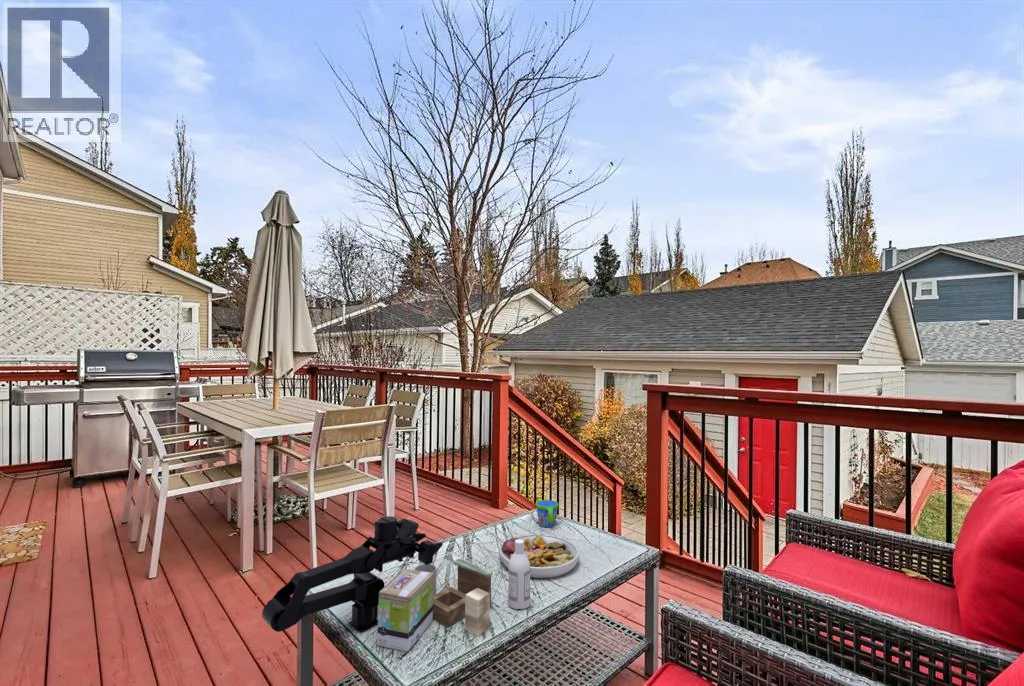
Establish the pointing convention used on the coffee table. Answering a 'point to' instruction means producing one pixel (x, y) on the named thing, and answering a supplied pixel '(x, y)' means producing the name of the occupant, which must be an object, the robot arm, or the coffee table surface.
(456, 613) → the socket block
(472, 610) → the peg
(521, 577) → the bath foam
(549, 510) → the snack cup
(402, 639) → the tea box
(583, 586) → the coffee table surface
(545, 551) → the bowl
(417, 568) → the cup
